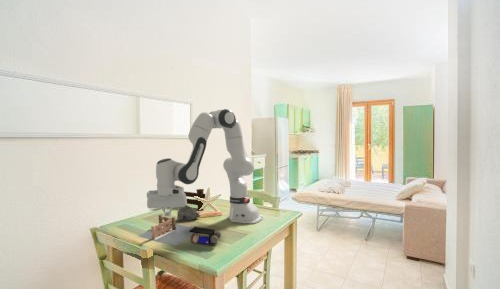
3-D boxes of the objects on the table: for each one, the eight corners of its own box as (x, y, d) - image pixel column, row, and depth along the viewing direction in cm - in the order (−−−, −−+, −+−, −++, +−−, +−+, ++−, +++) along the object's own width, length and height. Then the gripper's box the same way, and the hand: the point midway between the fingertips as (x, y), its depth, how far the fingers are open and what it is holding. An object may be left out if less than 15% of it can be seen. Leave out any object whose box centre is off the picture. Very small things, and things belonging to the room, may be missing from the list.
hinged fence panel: (170, 229, 144) (170, 218, 143) (173, 230, 143) (172, 219, 143) (151, 238, 133) (150, 226, 132) (153, 238, 132) (152, 227, 131)
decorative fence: (206, 208, 184) (205, 188, 183) (201, 211, 179) (200, 190, 178) (172, 203, 199) (171, 185, 198) (166, 205, 194) (165, 186, 193)
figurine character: (220, 244, 129) (193, 238, 132) (222, 229, 128) (194, 224, 131) (216, 250, 122) (187, 244, 125) (217, 235, 121) (188, 229, 125)
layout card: (203, 230, 143) (203, 229, 143) (176, 246, 124) (176, 245, 124) (167, 223, 156) (167, 222, 156) (137, 236, 137) (137, 235, 137)
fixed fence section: (176, 229, 145) (176, 217, 145) (174, 230, 143) (173, 218, 143) (160, 226, 151) (160, 214, 150) (158, 227, 149) (157, 215, 149)
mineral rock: (201, 219, 163) (200, 203, 162) (190, 224, 153) (189, 208, 153) (186, 216, 168) (185, 201, 168) (174, 221, 159) (173, 206, 158)
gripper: (143, 192, 129) (146, 218, 130) (183, 190, 129) (185, 216, 130) (148, 189, 135) (150, 214, 136) (186, 187, 135) (188, 212, 136)
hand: (168, 215), depth 133 cm, fingers closed
